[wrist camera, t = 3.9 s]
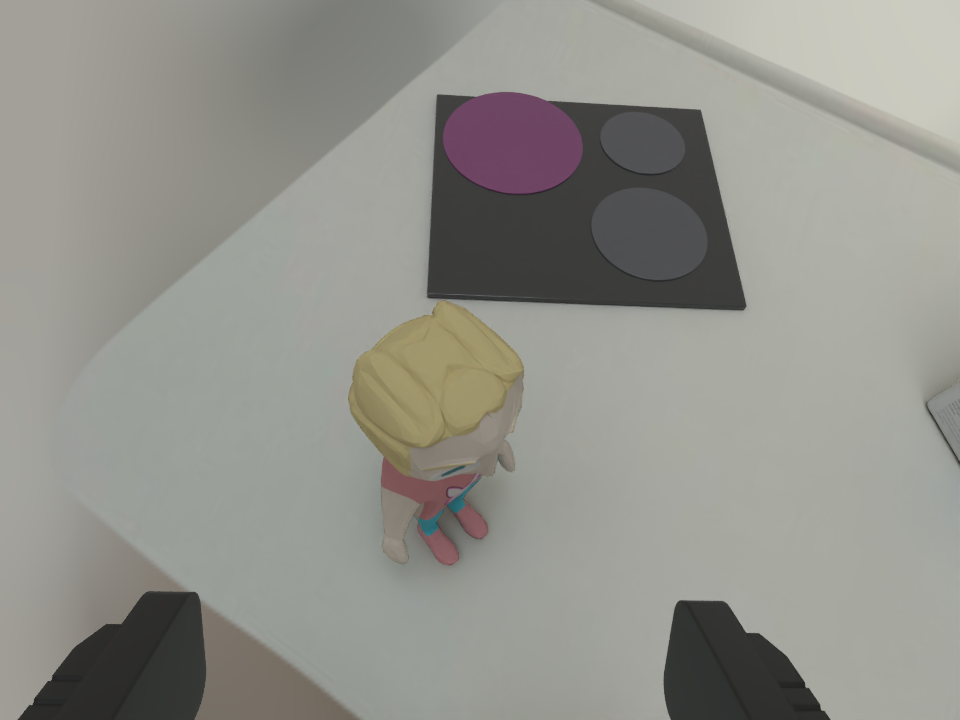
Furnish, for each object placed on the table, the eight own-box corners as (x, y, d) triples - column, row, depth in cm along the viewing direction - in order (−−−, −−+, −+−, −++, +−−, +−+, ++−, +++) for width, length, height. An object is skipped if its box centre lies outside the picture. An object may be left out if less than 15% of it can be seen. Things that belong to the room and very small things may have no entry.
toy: (414, 604, 28) (400, 513, 15) (349, 521, 29) (283, 371, 16) (524, 506, 30) (597, 352, 17) (459, 434, 32) (480, 241, 19)
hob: (427, 298, 35) (427, 292, 35) (437, 93, 43) (437, 87, 43) (743, 310, 37) (747, 305, 36) (697, 109, 44) (700, 103, 44)
